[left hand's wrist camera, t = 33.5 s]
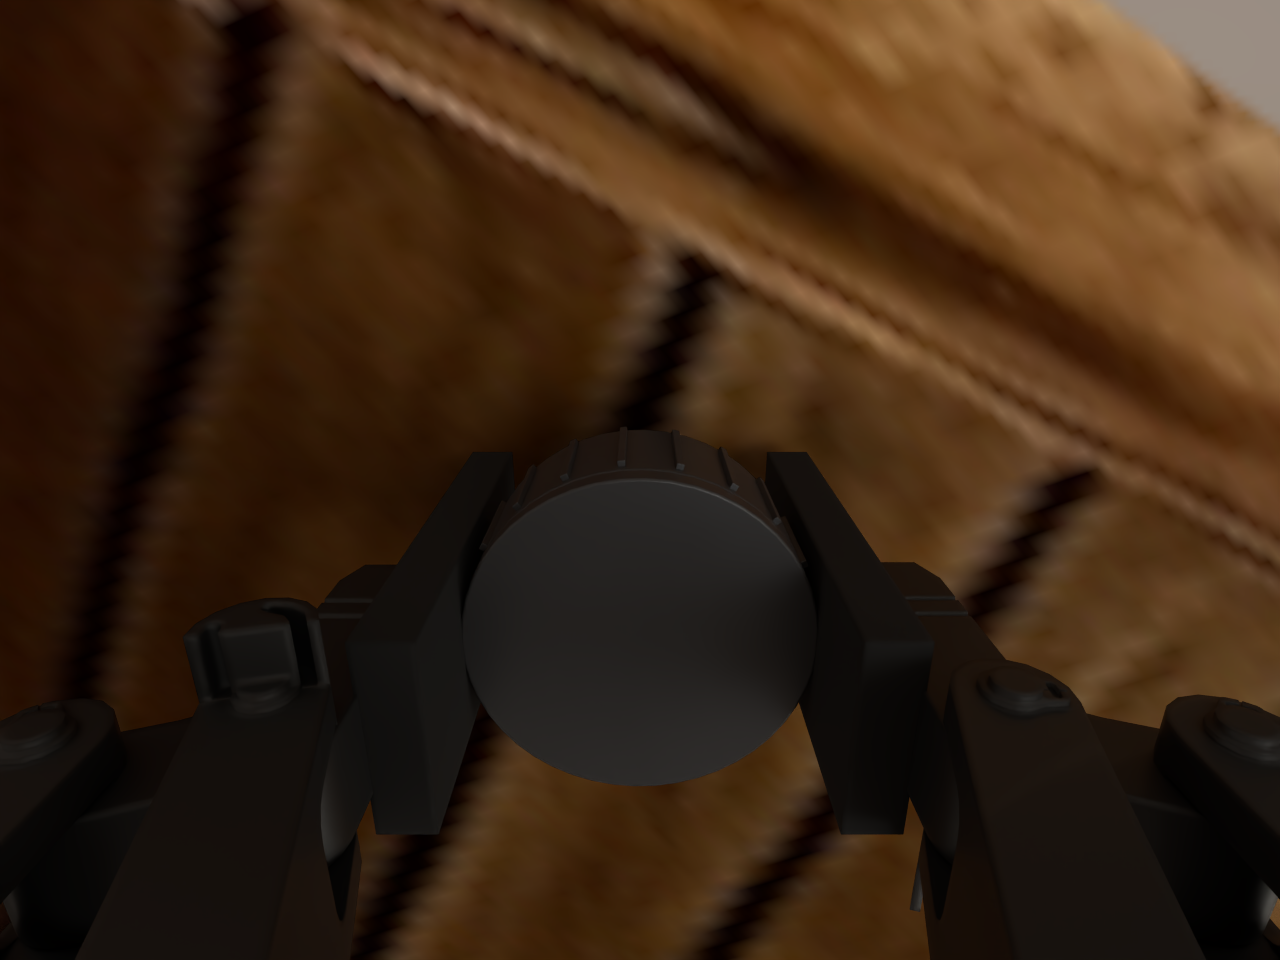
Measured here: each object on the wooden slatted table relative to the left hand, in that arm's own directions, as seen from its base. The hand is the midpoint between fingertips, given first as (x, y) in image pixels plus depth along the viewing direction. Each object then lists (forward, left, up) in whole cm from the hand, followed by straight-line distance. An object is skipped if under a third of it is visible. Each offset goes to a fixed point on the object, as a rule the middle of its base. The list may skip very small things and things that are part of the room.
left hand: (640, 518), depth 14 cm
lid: (0, 0, +4) cm, 4 cm away
